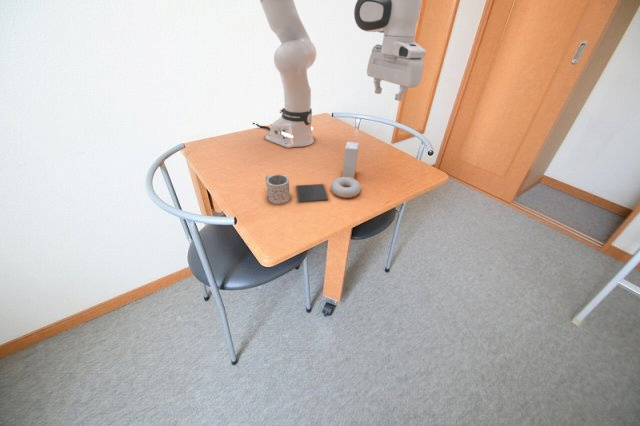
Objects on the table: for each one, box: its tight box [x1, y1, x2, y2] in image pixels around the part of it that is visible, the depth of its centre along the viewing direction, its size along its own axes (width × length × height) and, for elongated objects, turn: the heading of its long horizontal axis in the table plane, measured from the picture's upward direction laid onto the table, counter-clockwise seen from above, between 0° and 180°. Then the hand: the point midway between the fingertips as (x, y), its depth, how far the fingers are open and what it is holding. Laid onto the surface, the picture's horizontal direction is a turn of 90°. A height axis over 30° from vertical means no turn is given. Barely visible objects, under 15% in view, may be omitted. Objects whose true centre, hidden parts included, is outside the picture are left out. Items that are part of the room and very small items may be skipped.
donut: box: [330, 176, 362, 199], centre depth 90 cm, size 10×4×10 cm
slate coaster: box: [296, 183, 328, 203], centre depth 89 cm, size 9×9×1 cm
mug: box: [265, 174, 291, 205], centre depth 85 cm, size 10×7×7 cm, turn 41°
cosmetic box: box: [341, 141, 360, 179], centre depth 95 cm, size 6×4×12 cm
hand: (387, 96), depth 89 cm, fingers open, 8 cm apart
